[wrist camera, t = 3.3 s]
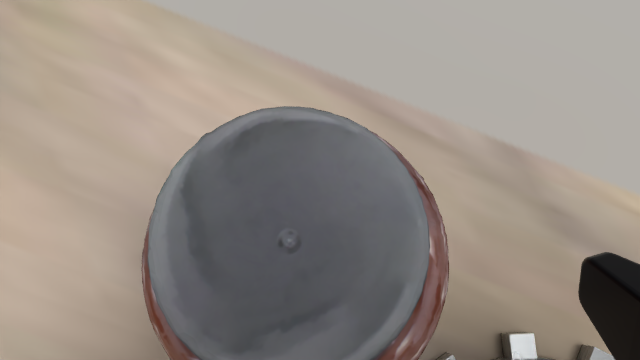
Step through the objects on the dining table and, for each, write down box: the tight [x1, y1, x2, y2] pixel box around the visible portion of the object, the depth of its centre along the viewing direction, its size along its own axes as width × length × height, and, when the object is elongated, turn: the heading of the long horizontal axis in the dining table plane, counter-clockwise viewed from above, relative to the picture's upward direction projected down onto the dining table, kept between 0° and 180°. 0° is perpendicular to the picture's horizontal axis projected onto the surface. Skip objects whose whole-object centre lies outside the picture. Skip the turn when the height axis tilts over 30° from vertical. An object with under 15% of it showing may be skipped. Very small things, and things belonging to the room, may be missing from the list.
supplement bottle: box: [142, 106, 449, 360], centre depth 13 cm, size 6×6×11 cm
